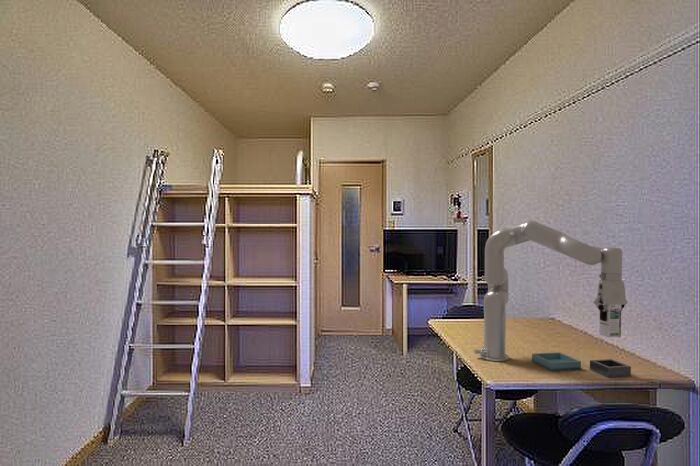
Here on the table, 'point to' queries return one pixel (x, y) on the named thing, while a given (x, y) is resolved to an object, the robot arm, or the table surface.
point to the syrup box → (611, 322)
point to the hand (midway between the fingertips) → (610, 319)
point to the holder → (610, 368)
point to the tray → (556, 361)
